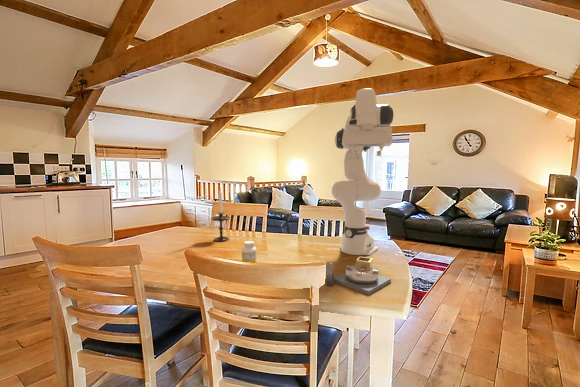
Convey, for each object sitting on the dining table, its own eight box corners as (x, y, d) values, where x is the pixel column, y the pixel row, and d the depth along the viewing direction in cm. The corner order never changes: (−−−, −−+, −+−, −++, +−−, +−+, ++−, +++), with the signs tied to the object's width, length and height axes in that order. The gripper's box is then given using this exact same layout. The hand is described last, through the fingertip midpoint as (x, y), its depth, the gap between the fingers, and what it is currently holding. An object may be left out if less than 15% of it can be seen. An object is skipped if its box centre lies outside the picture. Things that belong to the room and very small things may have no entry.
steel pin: (329, 282, 124) (329, 261, 123) (335, 284, 121) (335, 263, 120) (324, 284, 121) (324, 263, 120) (330, 286, 119) (330, 264, 118)
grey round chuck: (374, 286, 115) (375, 270, 114) (341, 280, 121) (342, 265, 120) (381, 274, 128) (381, 259, 127) (350, 269, 133) (351, 255, 133)
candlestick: (213, 243, 183) (212, 185, 179) (211, 238, 193) (209, 184, 189) (231, 241, 186) (230, 185, 183) (228, 237, 197) (227, 183, 193)
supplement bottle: (246, 266, 143) (245, 239, 141) (259, 267, 141) (258, 240, 139) (239, 271, 136) (239, 243, 135) (253, 272, 134) (252, 244, 133)
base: (355, 271, 136) (355, 262, 136) (390, 282, 124) (391, 272, 123) (332, 281, 124) (332, 272, 124) (368, 294, 112) (369, 284, 112)
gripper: (390, 127, 128) (391, 158, 125) (341, 127, 130) (341, 158, 127) (393, 120, 122) (395, 153, 119) (342, 121, 124) (342, 153, 121)
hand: (367, 155), depth 123 cm, fingers open, 8 cm apart
